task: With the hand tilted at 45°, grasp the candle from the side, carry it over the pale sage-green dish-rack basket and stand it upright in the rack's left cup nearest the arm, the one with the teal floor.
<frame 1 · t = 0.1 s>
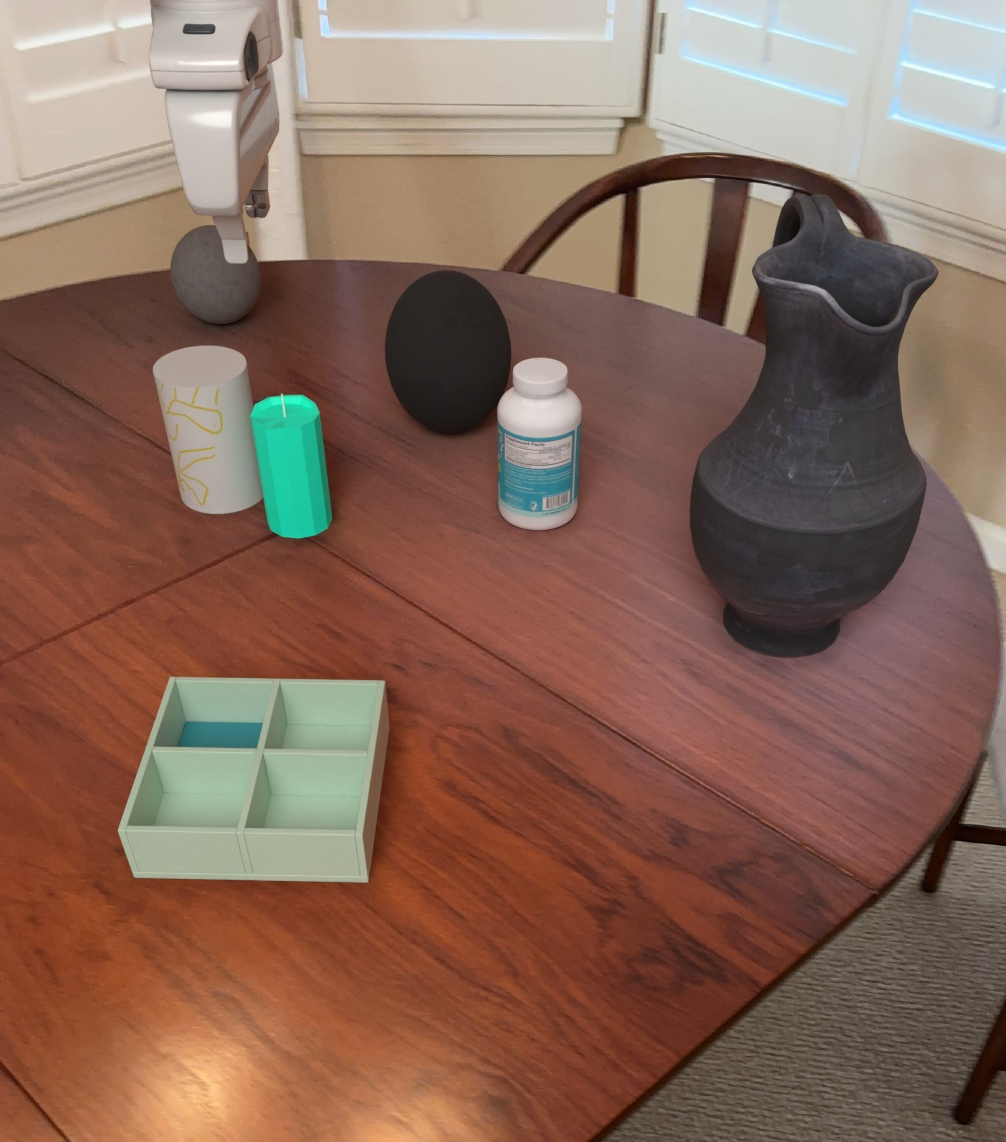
hand: (249, 236, 94), 23 cm above the table, tool pointing down, fingers open, 8 cm apart
cup: (224, 492, 113), on the table
candle: (300, 522, 109), on the table
pitcher: (771, 612, 100), on the table
pill bottle: (537, 514, 110), on the table
decorative ball: (224, 322, 138), on the table
rack: (269, 798, 85), on the table
decorative egg: (450, 429, 121), on the table
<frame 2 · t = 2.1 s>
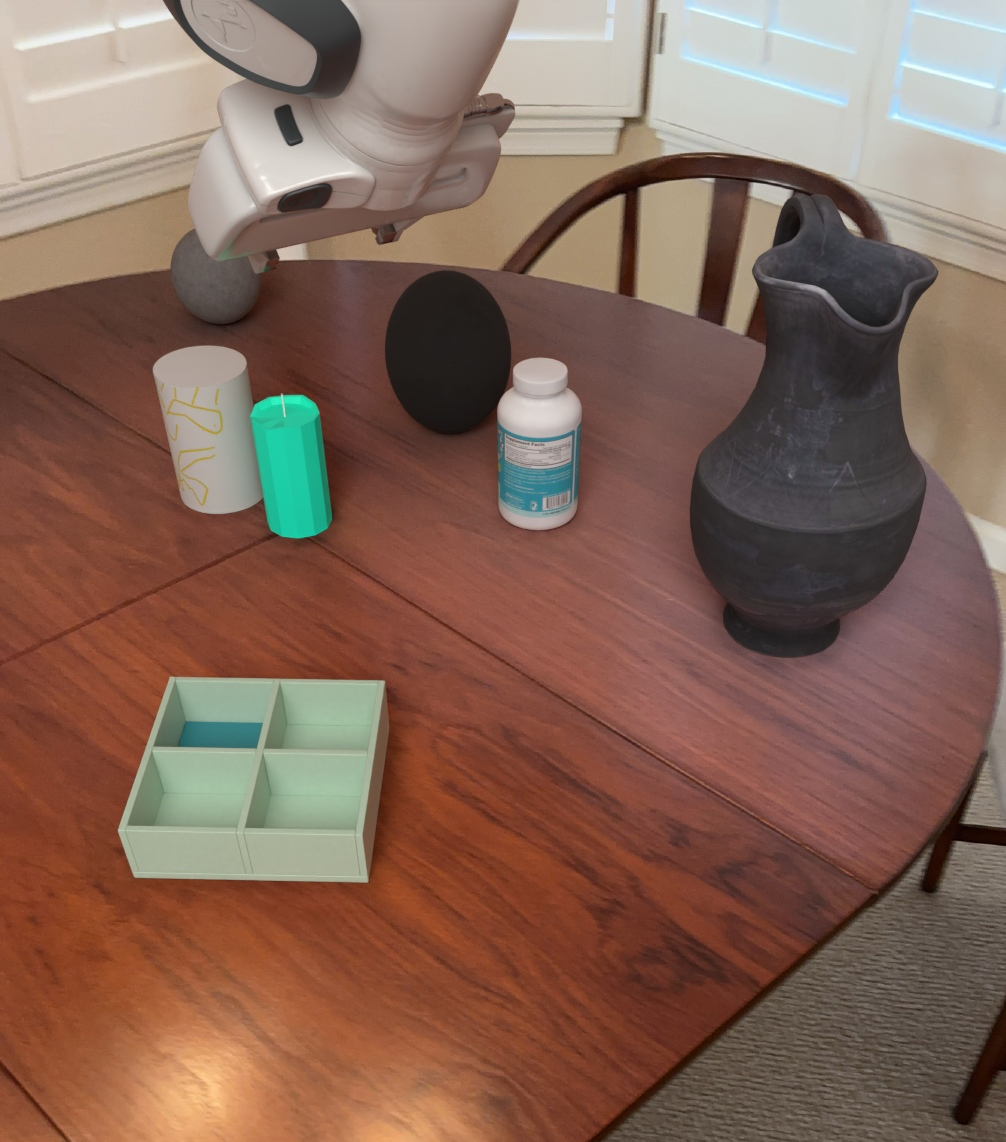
hand: (322, 247, 82), 27 cm above the table, tool tilted 45°, fingers open, 8 cm apart
nothing on the table moved.
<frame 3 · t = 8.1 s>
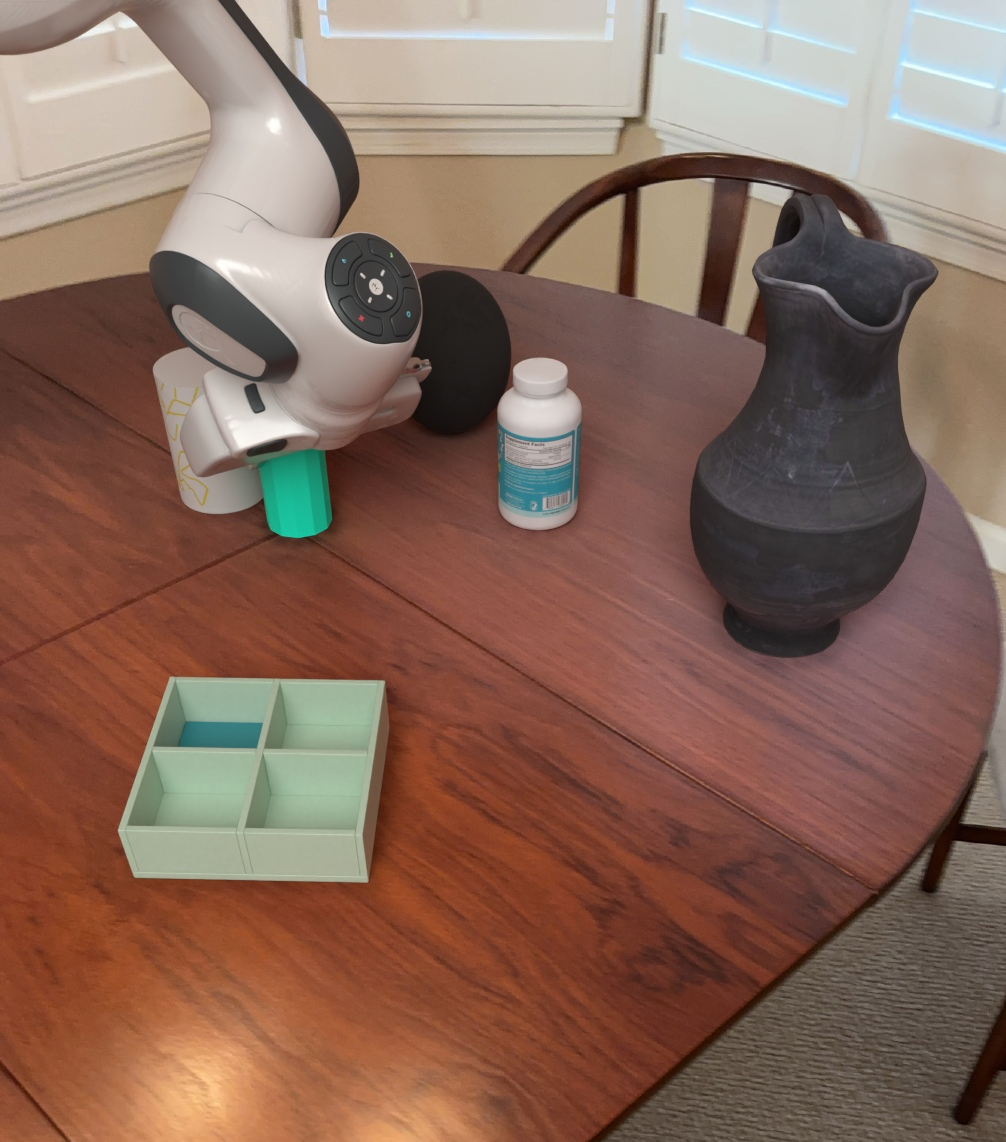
hand: (286, 450, 105), 7 cm above the table, tool tilted 45°, fingers closed on candle, 5 cm apart
candle: (300, 522, 109), on the table, touching gripper
everything else where it was.
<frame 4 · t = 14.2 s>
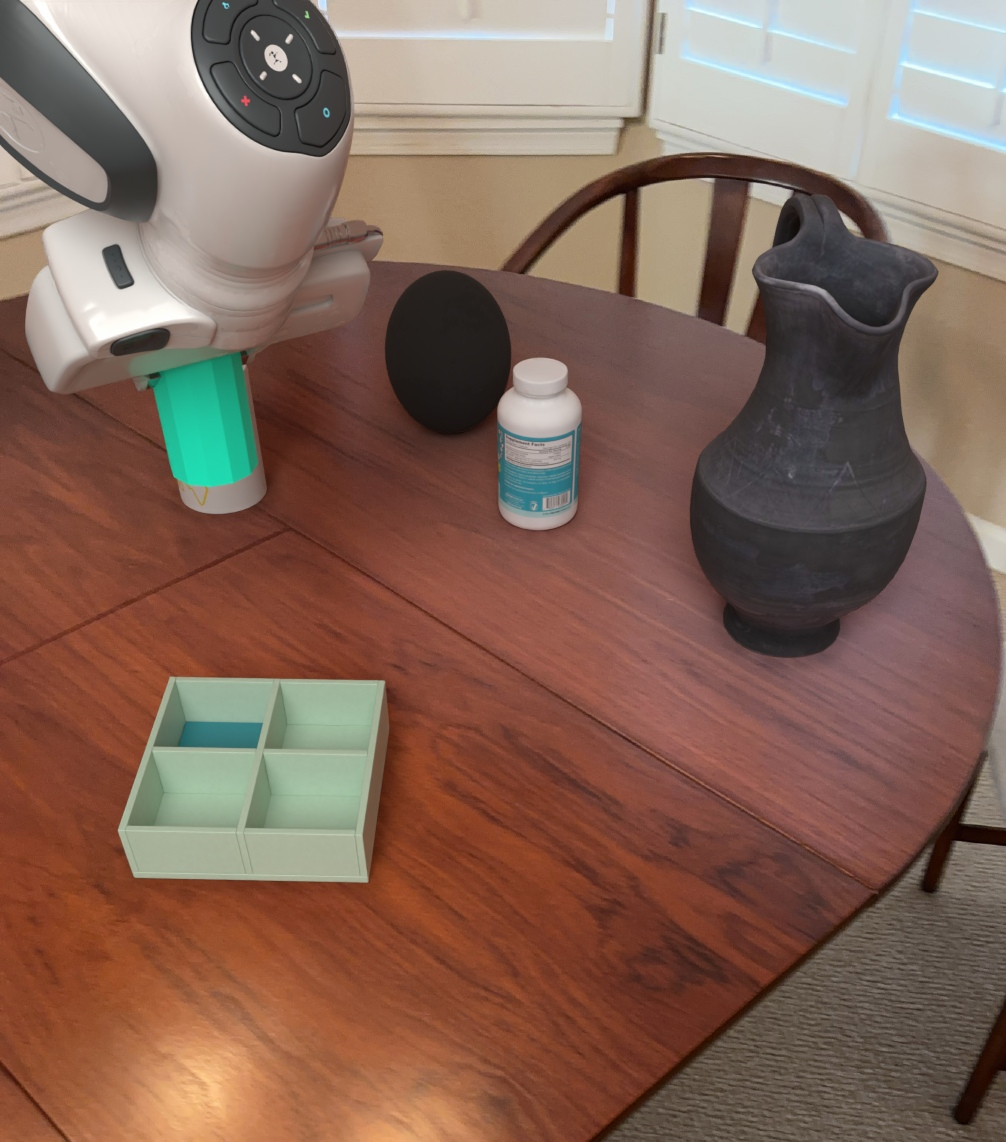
hand: (190, 366, 77), 24 cm above the table, tool tilted 45°, fingers closed on candle, 5 cm apart
candle: (214, 467, 81), point 18 cm above the table, touching gripper
everything else where it was.
when the fingers open (7 cm above the table, at t = 20.6 s): candle stays where it is, resting on rack.
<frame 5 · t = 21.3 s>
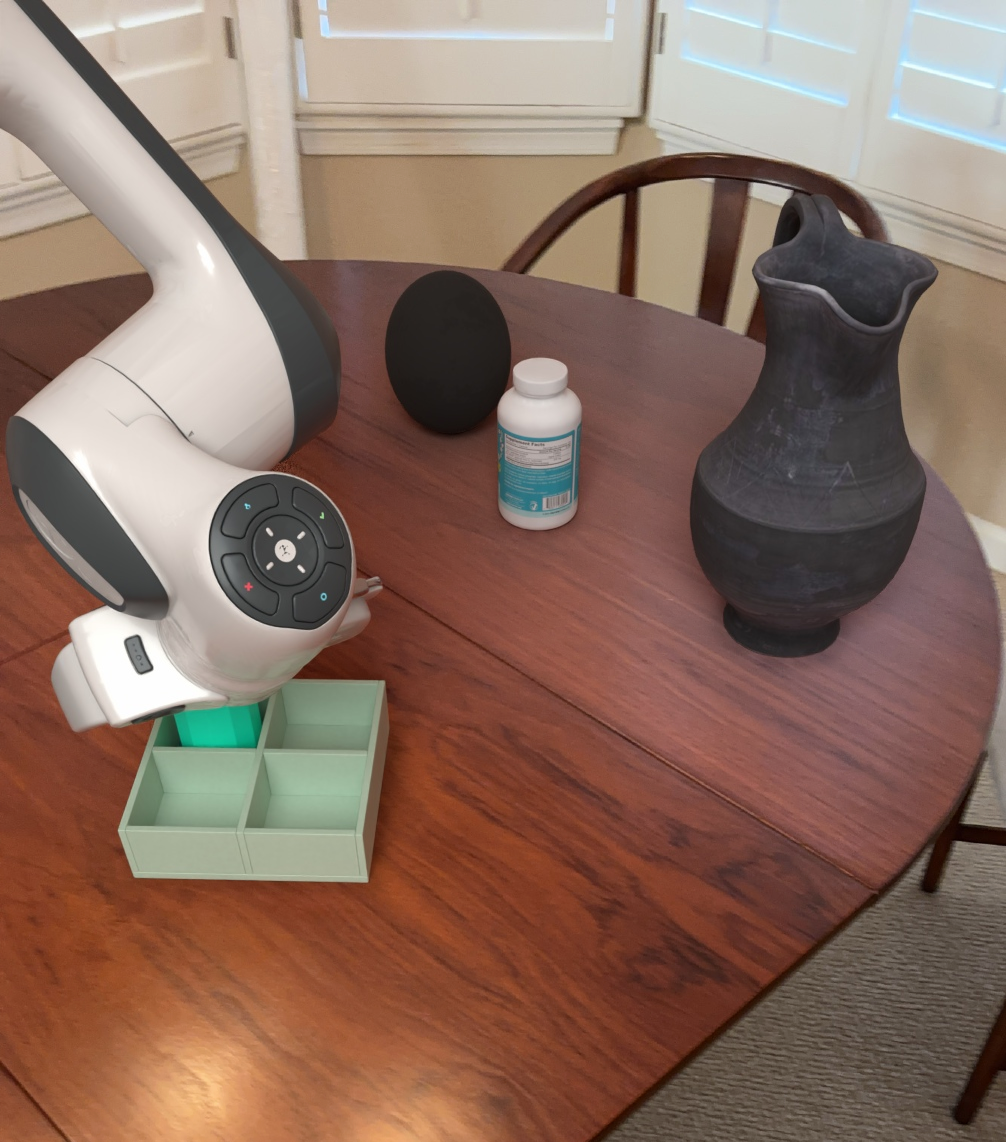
hand: (202, 672, 82), 8 cm above the table, tool tilted 45°, fingers open, 8 cm apart
candle: (226, 755, 87), point 1 cm above the table, touching rack
everything else where it was.
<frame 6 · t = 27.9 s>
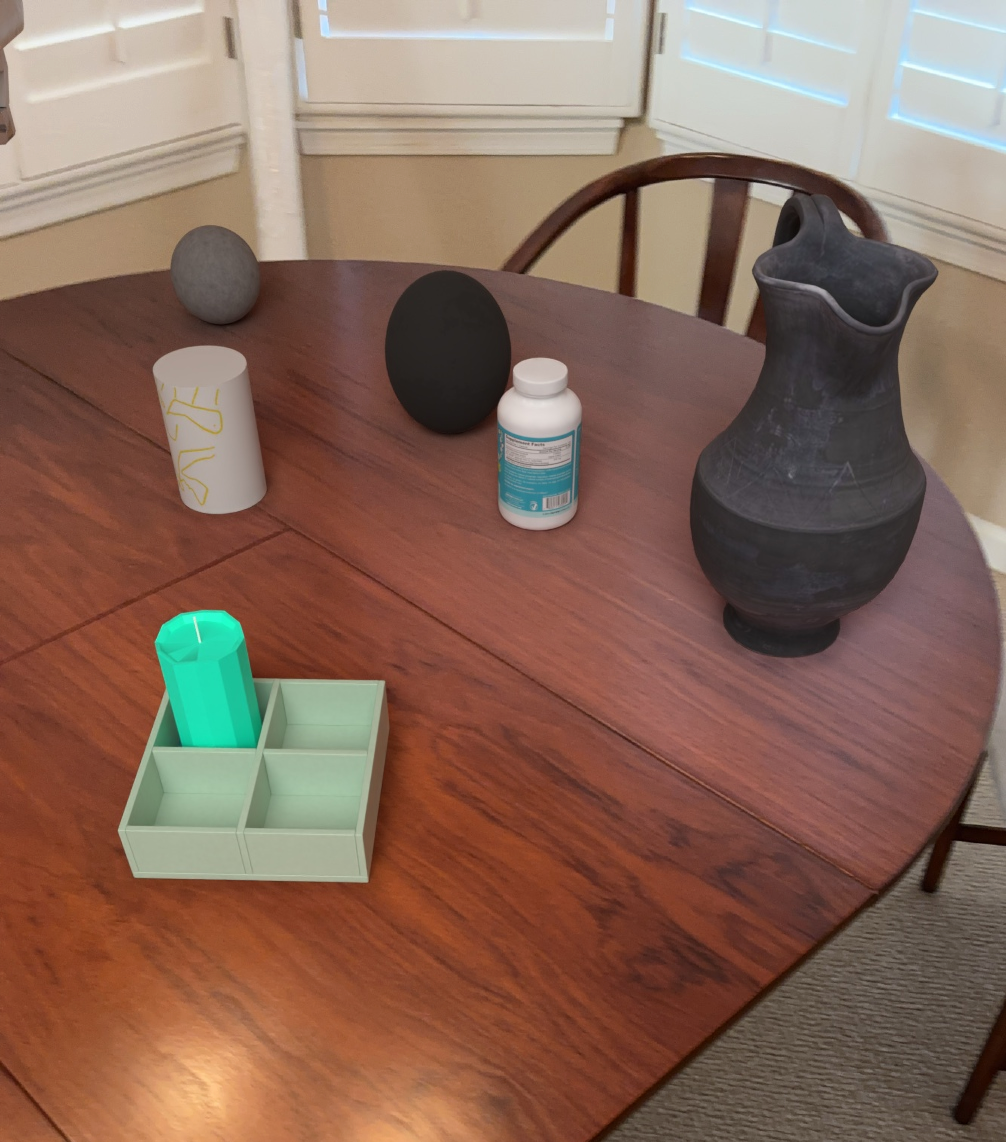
nothing on the table moved.
at the end: candle 0.2 cm from the target spot in the rack, point 0.6 cm above the rack's base; candle tilted 0°; the gripper is holding nothing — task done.
